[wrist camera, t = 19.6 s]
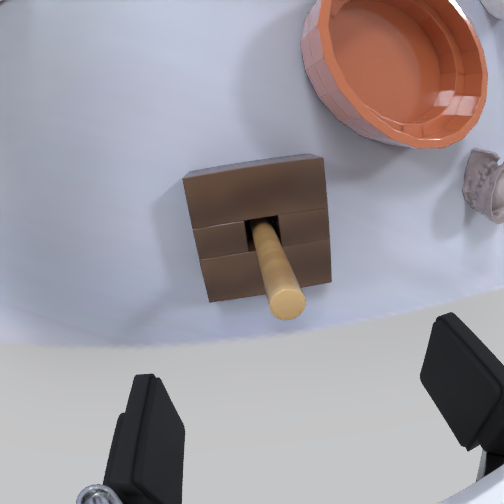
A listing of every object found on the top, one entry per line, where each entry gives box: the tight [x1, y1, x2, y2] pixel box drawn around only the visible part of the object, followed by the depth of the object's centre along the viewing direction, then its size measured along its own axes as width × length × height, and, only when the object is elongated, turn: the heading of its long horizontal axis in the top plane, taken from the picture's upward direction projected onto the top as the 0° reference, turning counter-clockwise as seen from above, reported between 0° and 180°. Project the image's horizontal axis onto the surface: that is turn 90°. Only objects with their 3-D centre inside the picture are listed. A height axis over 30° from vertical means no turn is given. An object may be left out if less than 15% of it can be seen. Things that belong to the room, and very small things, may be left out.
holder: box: [183, 154, 332, 303], centre depth 26 cm, size 11×11×4 cm
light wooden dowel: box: [250, 217, 306, 320], centre depth 21 cm, size 2×2×14 cm
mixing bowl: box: [301, 0, 488, 149], centre depth 20 cm, size 17×17×6 cm
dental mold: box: [463, 148, 504, 224], centre depth 26 cm, size 8×7×5 cm
